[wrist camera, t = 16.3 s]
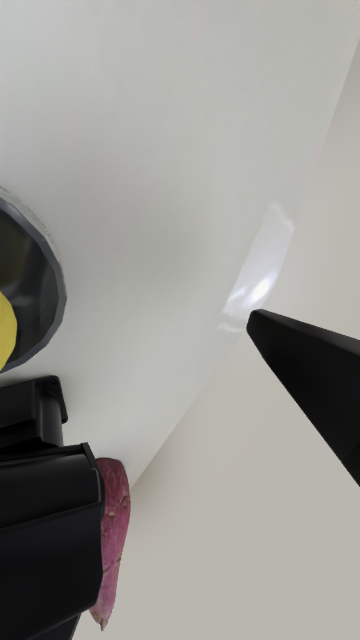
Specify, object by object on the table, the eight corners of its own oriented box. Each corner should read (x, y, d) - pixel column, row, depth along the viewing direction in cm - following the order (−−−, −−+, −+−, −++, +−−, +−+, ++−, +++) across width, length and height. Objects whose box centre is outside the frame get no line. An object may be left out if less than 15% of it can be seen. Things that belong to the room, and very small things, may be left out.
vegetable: (104, 475, 40) (131, 597, 31) (35, 499, 32) (45, 666, 24) (134, 447, 35) (175, 580, 26) (61, 468, 28) (86, 660, 19)
